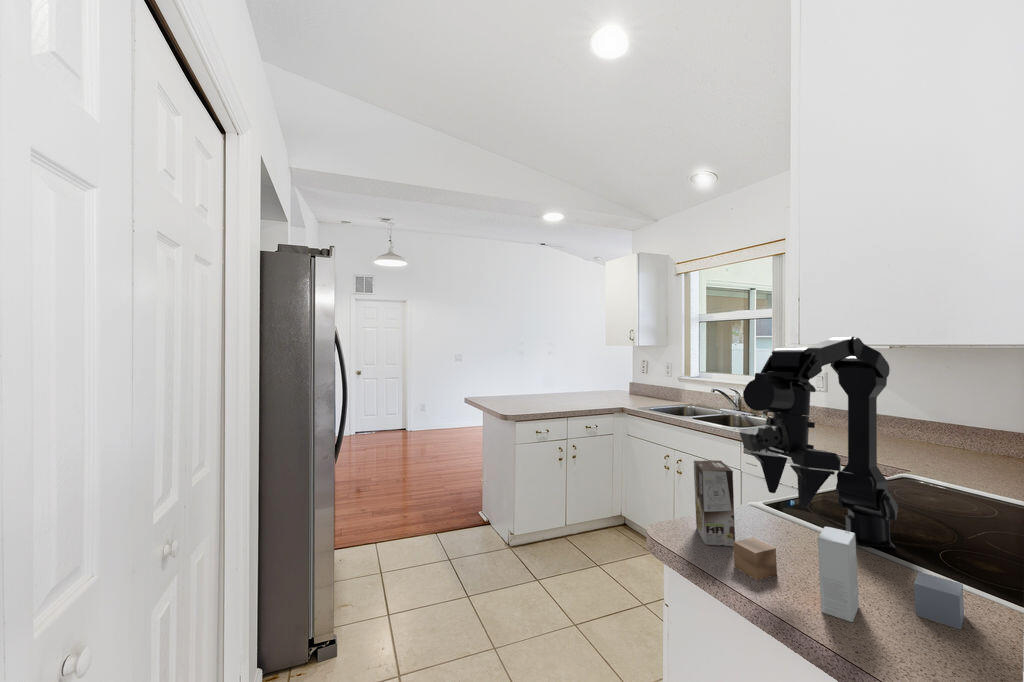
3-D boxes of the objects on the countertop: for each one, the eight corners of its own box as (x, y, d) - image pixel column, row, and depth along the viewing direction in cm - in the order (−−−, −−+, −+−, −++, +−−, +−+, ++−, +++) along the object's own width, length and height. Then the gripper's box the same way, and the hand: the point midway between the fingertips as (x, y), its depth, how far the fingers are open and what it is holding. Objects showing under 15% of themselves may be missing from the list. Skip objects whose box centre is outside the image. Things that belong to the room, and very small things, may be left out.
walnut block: (754, 562, 86) (753, 537, 86) (776, 575, 81) (775, 548, 81) (734, 567, 84) (733, 541, 84) (756, 580, 79) (755, 553, 79)
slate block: (920, 602, 71) (919, 571, 71) (964, 616, 67) (962, 583, 67) (915, 615, 68) (913, 583, 68) (961, 630, 64) (959, 596, 64)
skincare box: (827, 596, 74) (824, 525, 74) (859, 606, 70) (856, 532, 71) (819, 612, 69) (816, 537, 69) (853, 624, 66) (850, 545, 66)
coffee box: (736, 547, 92) (733, 470, 92) (704, 545, 93) (701, 470, 94) (724, 529, 101) (722, 459, 101) (695, 527, 102) (692, 459, 103)
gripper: (724, 406, 91) (719, 482, 89) (777, 413, 72) (772, 509, 71) (777, 412, 90) (773, 488, 89) (845, 420, 72) (841, 517, 71)
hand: (786, 499), depth 80 cm, fingers open, 9 cm apart
